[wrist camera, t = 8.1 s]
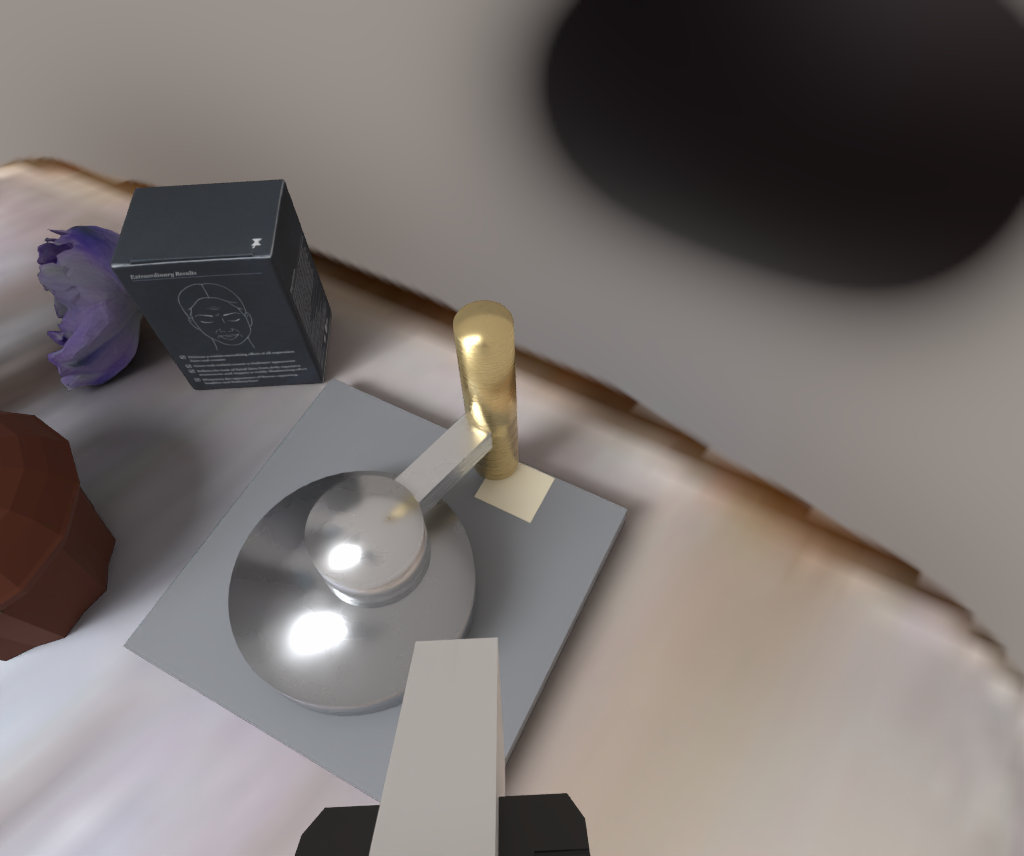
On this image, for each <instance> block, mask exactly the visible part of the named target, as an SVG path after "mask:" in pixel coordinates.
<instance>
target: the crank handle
mask: <svg viewBox="0 0 1024 856" xmlns="http://www.w3.org/2000/svg"><path fill="white" fill-rule="evenodd" d="M453 330H454V337H455V344H456V351H457V358H458V364H459V371H460V378H461V385H462V392H463V399H464V406H465V414H464V415H463V416H462V417H461V418H460V419H459V420H458V421H457V422H456V423H455V424H453V425H452V426H451V427H450V428H449V429H448V430H447V431H446V432H445V433H444V434H443V435H442V436H441V437H440V438H439V439H437V440H436V441H435V442H434V443H433V444H432V445H431V446H430V447H429V448H428V449H427V450H426V451H425V452H424V453H423V454H421V455H420V456H419V457H418V458H417V459H416V460H415V461H414V462H413V463H412V464H411V465H410V466H409V467H408V468H407V469H406V470H404V471H403V472H402V473H401V474H400V475H396V474H391V473H387V472H379V471H353V472H345V473H339V474H335V475H331V476H327V477H324V478H322V479H319V480H316V481H313V482H311V483H309V484H307V485H305V486H303V487H301V488H299V489H297V490H296V491H294V492H293V493H291V494H289V495H288V496H286V497H285V498H284V499H282V500H281V501H280V502H279V503H277V504H276V505H275V506H274V507H273V508H272V509H271V510H270V511H269V512H268V513H267V514H266V515H264V516H263V517H262V519H261V520H260V521H259V522H258V524H257V525H256V526H255V527H254V529H253V530H252V531H251V533H250V534H249V536H248V538H247V539H246V541H245V542H244V544H243V546H242V548H241V550H240V552H239V555H238V557H237V559H236V562H235V565H234V568H233V571H232V575H231V580H230V585H229V596H228V609H229V620H230V624H231V629H232V633H233V636H234V638H235V641H236V643H237V646H238V648H239V650H240V652H241V653H242V655H243V657H244V659H245V660H246V662H247V663H248V664H249V666H250V667H251V668H252V669H253V670H254V672H255V673H256V674H257V675H258V676H259V677H260V678H262V679H263V680H264V681H265V682H266V683H267V684H268V685H270V686H271V687H272V688H273V689H274V690H276V691H277V692H278V693H279V694H280V695H282V696H283V697H285V698H287V699H288V700H290V701H291V702H293V703H294V704H297V705H299V706H301V707H303V708H305V709H308V710H311V711H314V712H318V713H321V714H327V715H334V716H360V715H367V714H373V713H377V712H381V711H384V710H388V709H390V708H393V707H395V706H398V705H400V704H402V702H403V698H404V693H405V688H406V684H407V679H408V675H409V670H410V666H411V661H412V657H413V652H414V647H415V643H416V641H434V640H455V639H467V636H468V634H469V632H470V629H471V626H472V623H473V619H474V616H475V610H476V604H477V577H476V569H475V564H474V558H473V553H472V550H471V546H470V542H469V539H468V537H467V534H466V532H465V529H464V527H463V526H462V524H461V522H460V520H459V519H458V517H457V515H456V514H455V513H454V512H453V510H452V509H451V508H450V507H449V506H448V504H447V503H446V502H444V501H443V500H442V499H441V498H442V497H443V496H444V495H445V494H446V493H447V492H448V491H449V490H450V489H451V488H452V487H453V486H454V485H455V484H456V483H457V482H458V481H459V480H460V479H461V478H462V477H463V476H464V475H465V474H466V473H467V472H468V471H469V470H470V469H471V468H472V467H474V469H475V470H476V472H477V473H478V474H479V475H480V476H482V477H483V478H486V479H489V480H501V479H505V478H507V477H509V476H510V475H511V474H513V473H514V471H515V470H516V468H517V466H518V463H519V450H518V424H517V398H516V372H515V346H514V321H513V317H512V315H511V313H510V311H509V310H508V309H507V308H506V307H505V306H503V305H501V304H499V303H497V302H494V301H487V300H481V301H475V302H472V303H469V304H467V305H465V306H464V307H463V308H461V309H460V310H459V311H458V313H457V314H456V316H455V318H454V321H453Z"/></svg>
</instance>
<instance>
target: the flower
mask: <svg viewBox="0 0 1024 856" xmlns="http://www.w3.org/2000/svg"><path fill="white" fill-rule="evenodd" d="M48 230H49V229H48ZM50 231H51V232H54V233H56V234H59V235H61V237H60V238H59V239H49V238H46V239H45V241H47V243H45V244H42V245H40V246H38V252H39V258H38V260H37V262H38V263H39V264H40V266H39V268H40V273H38V275H37V276H38V277H39V281H40V283H41V284H42V285H43V286H44V289H45V290H46V291H48V290H49V291H50V292H52V293H53V295H54V306H55V310H56V313H57V316H58V318H62V317H63V321H62V323H61V324H58V327H59V328H60V329H61V330H62V331H60V332H58V331H48V332H47V335H48V336H49V337H51V338H52V339H53V340H54V341H55V342H56V343H58V344H60V345H62V346H64V347H63V348H62V349H61V350H58V351H55V352H53V353H50V354H48V356H47V357H48V360H49V362H51V363H52V364H54V365H56V366H57V368H58V372H59V374H60V375H61V376H62V377H61V383H62V384H63V385H64V386H65V387H66V388H67V389H68V390H67V391H70V390H72V389H74V388H77V387H80V386H83V385H100V384H103V383H105V382H107V381H108V380H110V379H111V378H112V377H114V376H115V375H116V374H118V373H119V372H120V371H121V370H122V369H124V368H125V367H126V366H127V365H128V364H129V363H130V361H131V360H132V358H133V357H134V355H135V354H136V350H137V347H138V342H139V331H140V321H141V318H142V315H143V314H142V313H141V311H140V310H139V308H138V307H137V305H136V304H135V302H134V301H133V299H132V298H131V296H130V295H129V294H128V292H127V291H126V289H125V288H124V287H123V285H122V283H121V282H120V280H119V279H118V277H117V276H116V274H115V273H114V272H113V270H112V269H111V260H112V257H113V255H114V251H115V249H116V246H117V243H118V240H119V237H120V235H119V234H117V233H115V232H113V231H111V230H108V229H104V228H100V227H97V226H75V227H72V228H70V229H68V230H67V231H64V230H50ZM48 241H52V242H53V243H49V242H48ZM57 368H56V369H57Z"/></svg>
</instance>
